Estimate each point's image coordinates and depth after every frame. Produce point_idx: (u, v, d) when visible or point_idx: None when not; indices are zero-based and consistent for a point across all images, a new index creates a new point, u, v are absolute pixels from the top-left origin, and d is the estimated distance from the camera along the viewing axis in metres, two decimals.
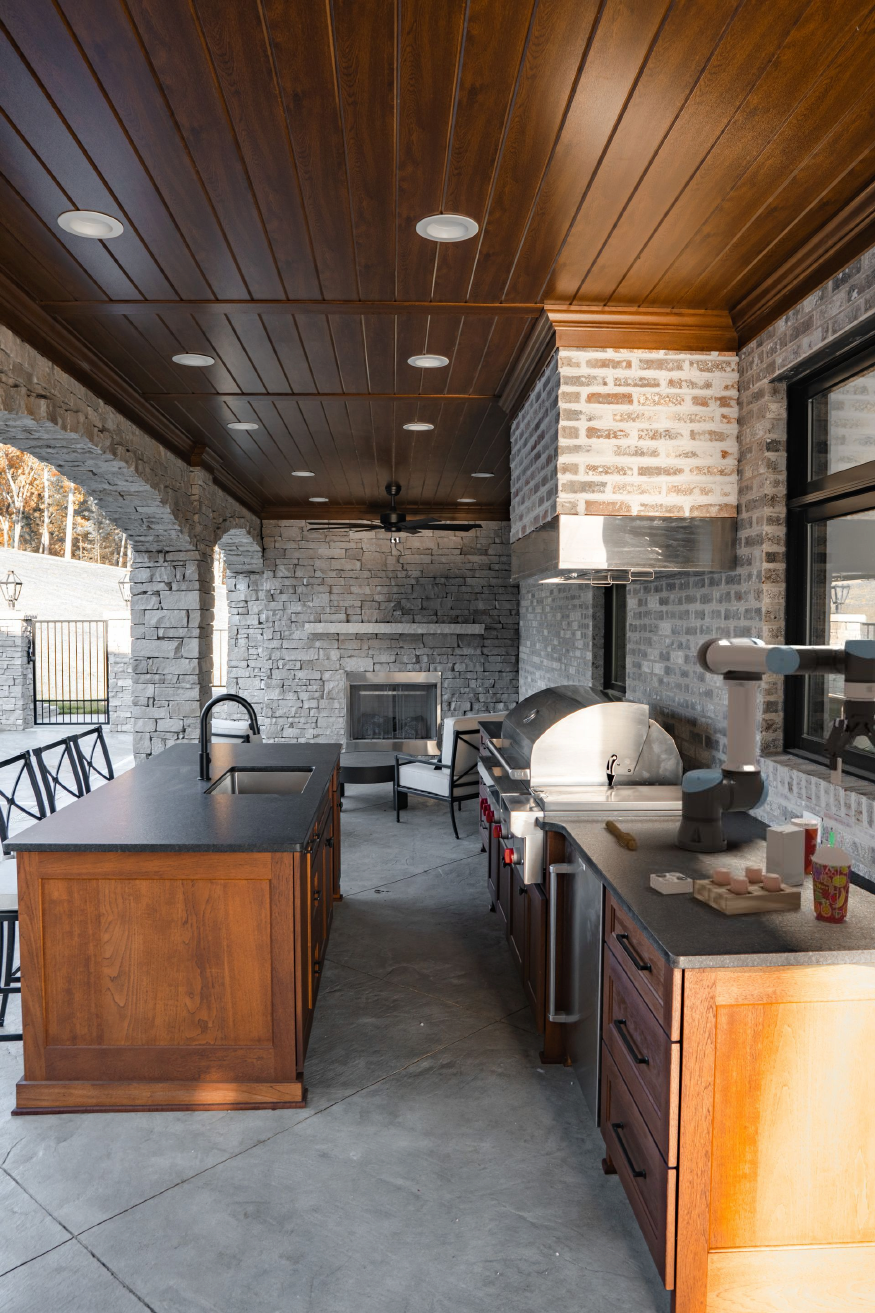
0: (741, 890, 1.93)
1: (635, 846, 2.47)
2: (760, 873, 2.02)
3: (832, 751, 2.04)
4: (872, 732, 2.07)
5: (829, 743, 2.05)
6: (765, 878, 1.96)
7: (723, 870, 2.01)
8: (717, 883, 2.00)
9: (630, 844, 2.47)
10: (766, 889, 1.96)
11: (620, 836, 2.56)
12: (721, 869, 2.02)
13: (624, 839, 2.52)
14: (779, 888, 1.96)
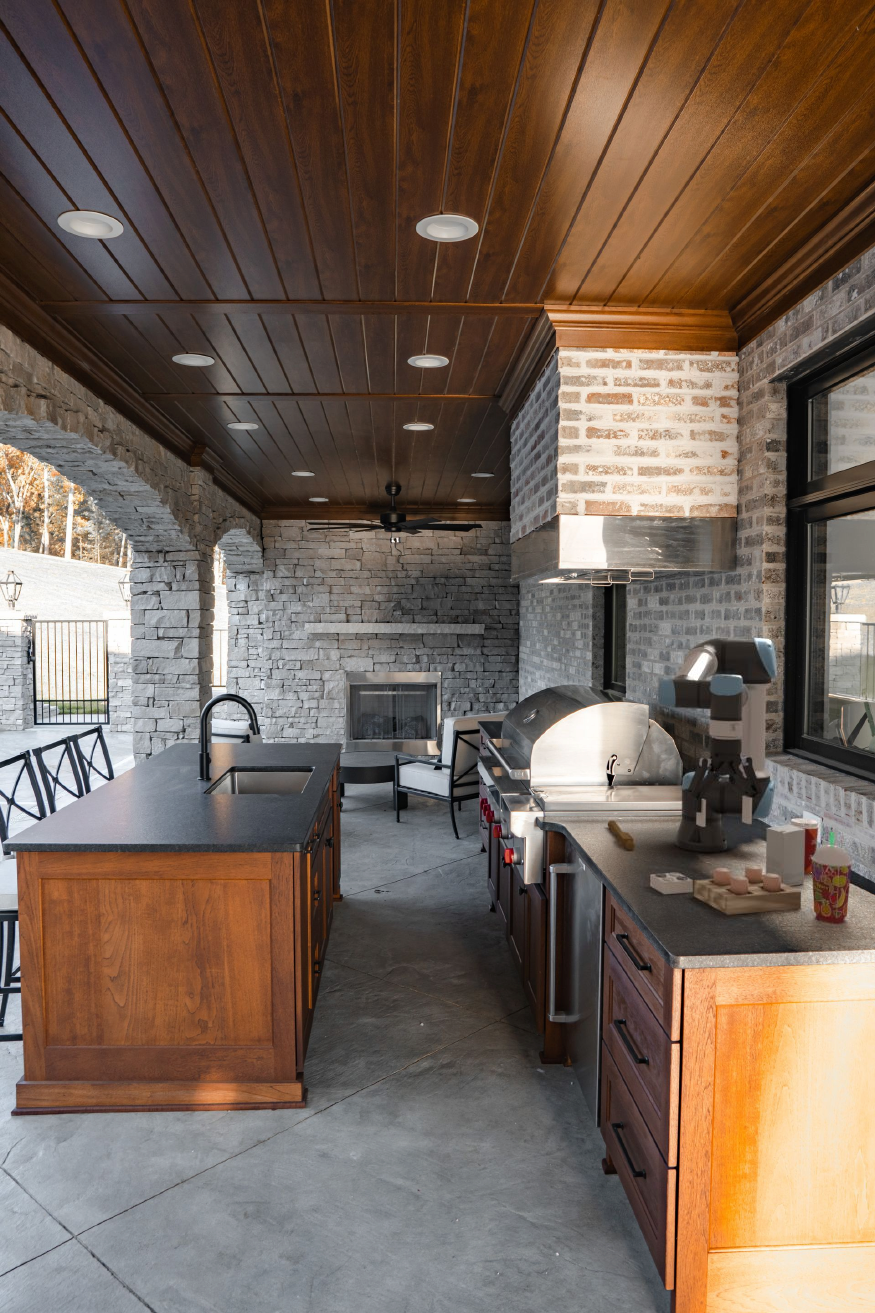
0: (741, 890, 1.93)
1: (632, 846, 2.47)
2: (760, 873, 2.02)
3: (695, 792, 1.98)
4: (737, 771, 2.00)
5: (693, 784, 1.99)
6: (765, 878, 1.96)
7: (723, 870, 2.01)
8: (717, 883, 2.00)
9: (627, 844, 2.47)
10: (766, 889, 1.96)
11: (619, 836, 2.57)
12: (721, 869, 2.02)
13: (622, 839, 2.52)
14: (779, 888, 1.96)
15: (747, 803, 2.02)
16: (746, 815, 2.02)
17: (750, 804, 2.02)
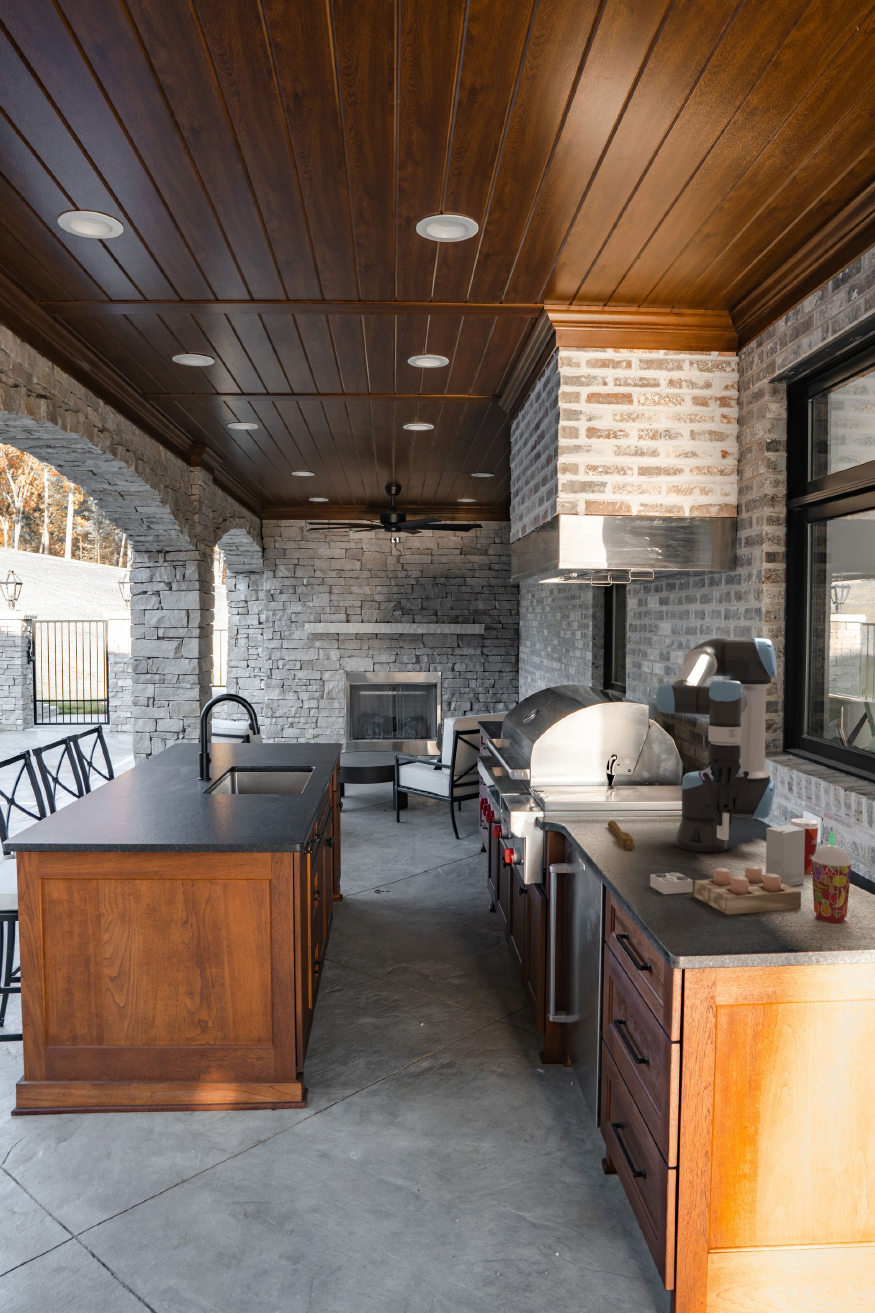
0: (741, 890, 1.93)
1: (632, 846, 2.47)
2: (760, 873, 2.02)
3: (715, 805, 1.99)
4: (731, 779, 2.00)
5: (708, 799, 2.00)
6: (765, 878, 1.96)
7: (723, 870, 2.01)
8: (717, 883, 2.00)
9: (627, 844, 2.47)
10: (766, 889, 1.96)
11: (619, 836, 2.57)
12: (721, 869, 2.02)
13: (622, 839, 2.52)
14: (779, 888, 1.96)
15: None
16: None
17: (727, 819, 2.00)
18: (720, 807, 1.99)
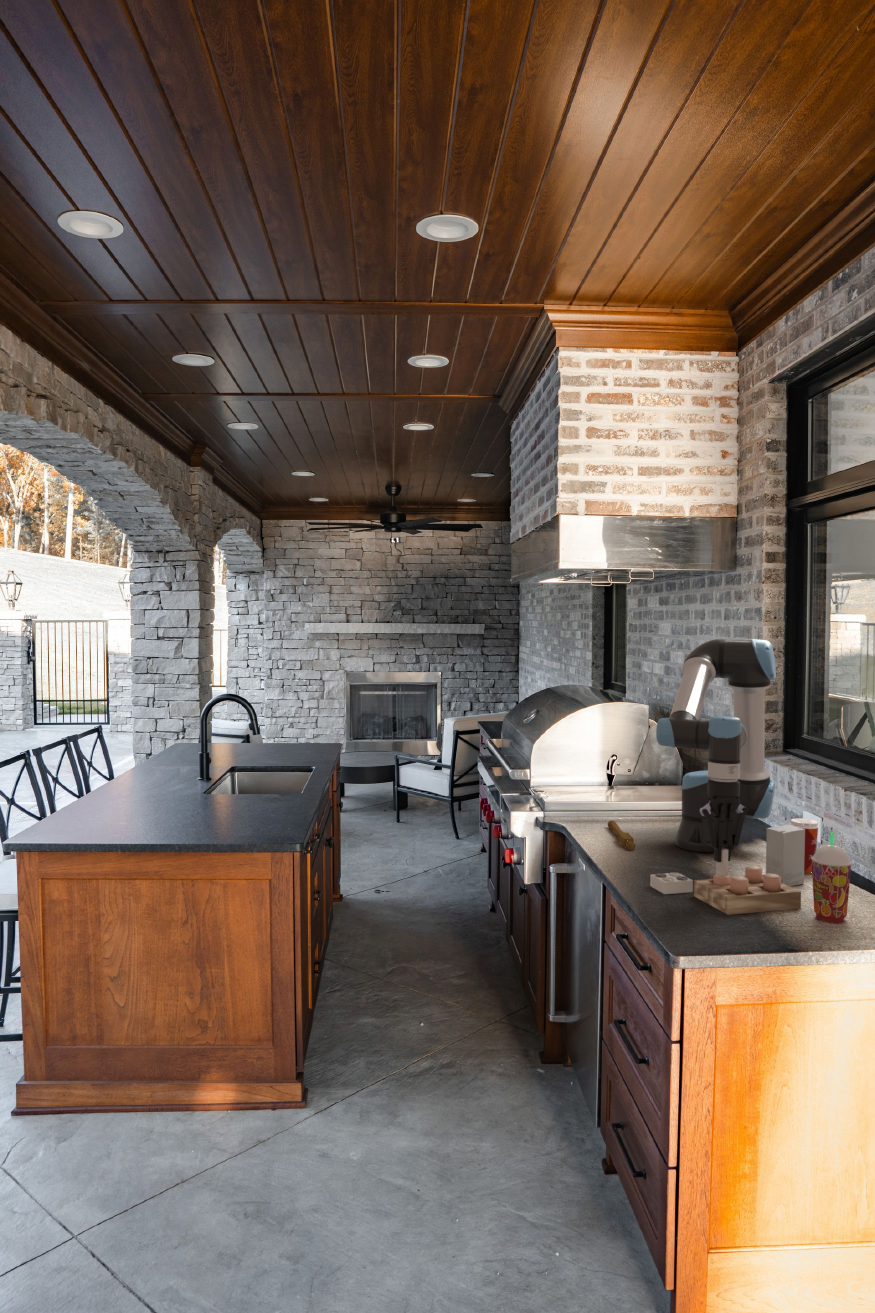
0: (741, 890, 1.93)
1: (632, 846, 2.47)
2: (760, 873, 2.02)
3: (714, 842, 1.99)
4: (730, 815, 2.00)
5: (707, 835, 2.00)
6: (765, 878, 1.96)
7: (723, 876, 2.01)
8: None
9: (627, 844, 2.47)
10: (766, 889, 1.96)
11: (619, 836, 2.57)
12: None
13: (622, 839, 2.52)
14: (779, 888, 1.96)
15: None
16: None
17: (727, 856, 2.00)
18: (719, 843, 2.00)
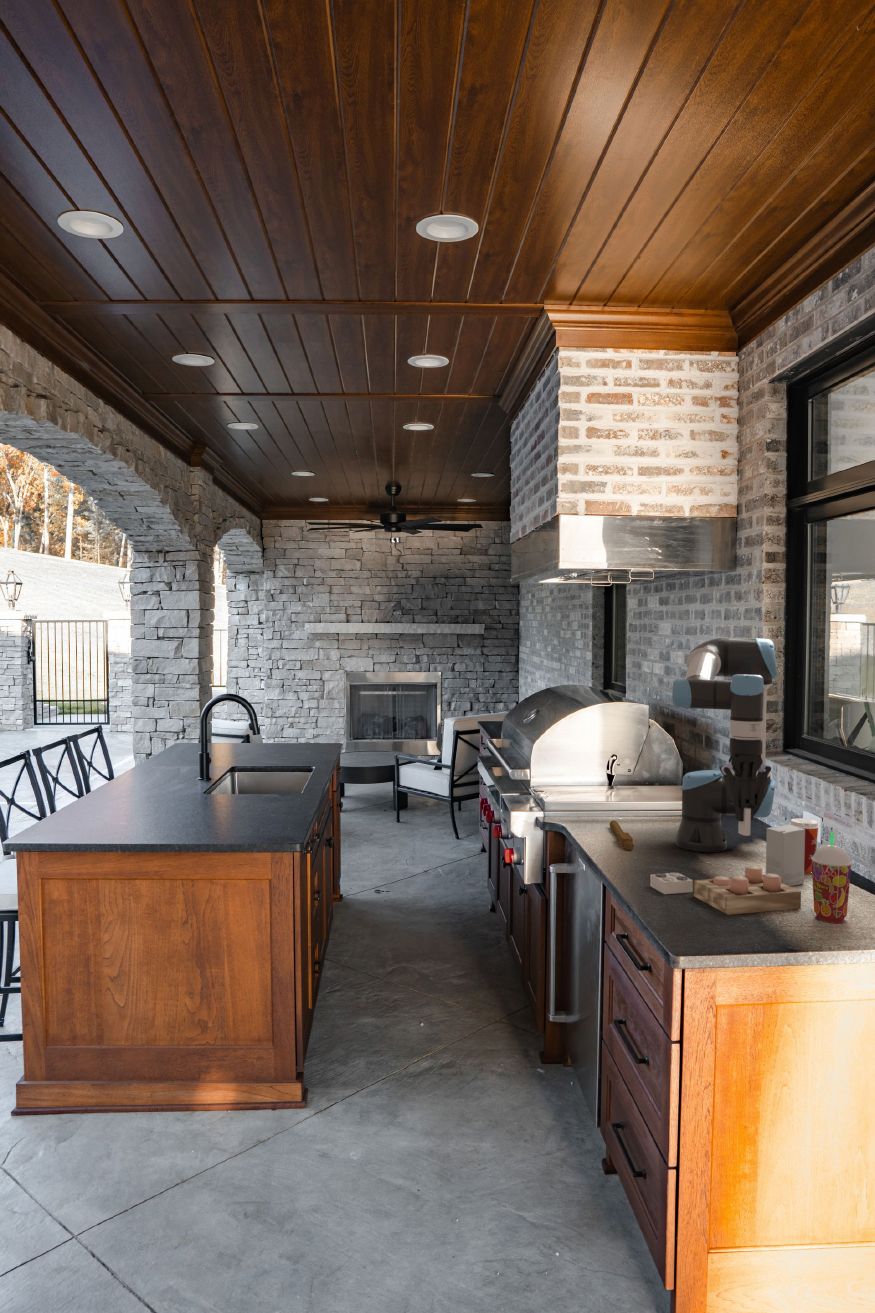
0: (741, 890, 1.93)
1: (631, 846, 2.47)
2: (760, 873, 2.02)
3: (736, 801, 1.97)
4: (753, 774, 1.97)
5: (729, 794, 1.98)
6: (765, 878, 1.96)
7: (723, 878, 2.01)
8: None
9: (626, 844, 2.47)
10: (766, 889, 1.96)
11: (619, 836, 2.57)
12: (721, 877, 2.02)
13: (621, 839, 2.52)
14: (779, 888, 1.96)
15: None
16: None
17: (749, 815, 1.98)
18: (741, 802, 1.97)
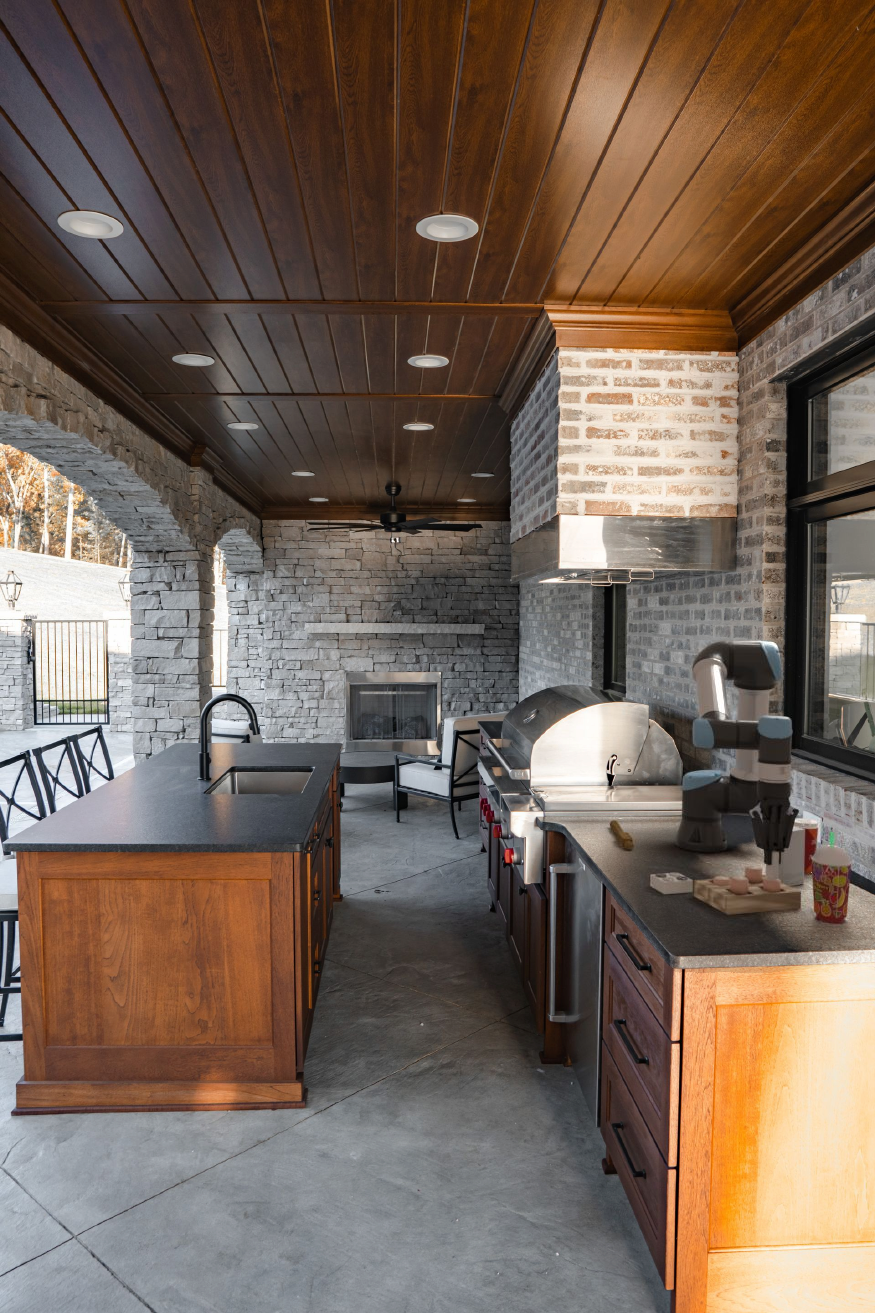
0: (741, 890, 1.93)
1: (631, 846, 2.47)
2: (760, 873, 2.02)
3: (765, 844, 1.95)
4: (781, 817, 1.95)
5: (758, 837, 1.96)
6: (765, 881, 1.96)
7: (723, 878, 2.01)
8: None
9: (626, 844, 2.47)
10: None
11: (619, 836, 2.57)
12: (721, 877, 2.02)
13: (621, 839, 2.52)
14: (779, 891, 1.96)
15: None
16: None
17: (777, 858, 1.96)
18: (770, 846, 1.95)
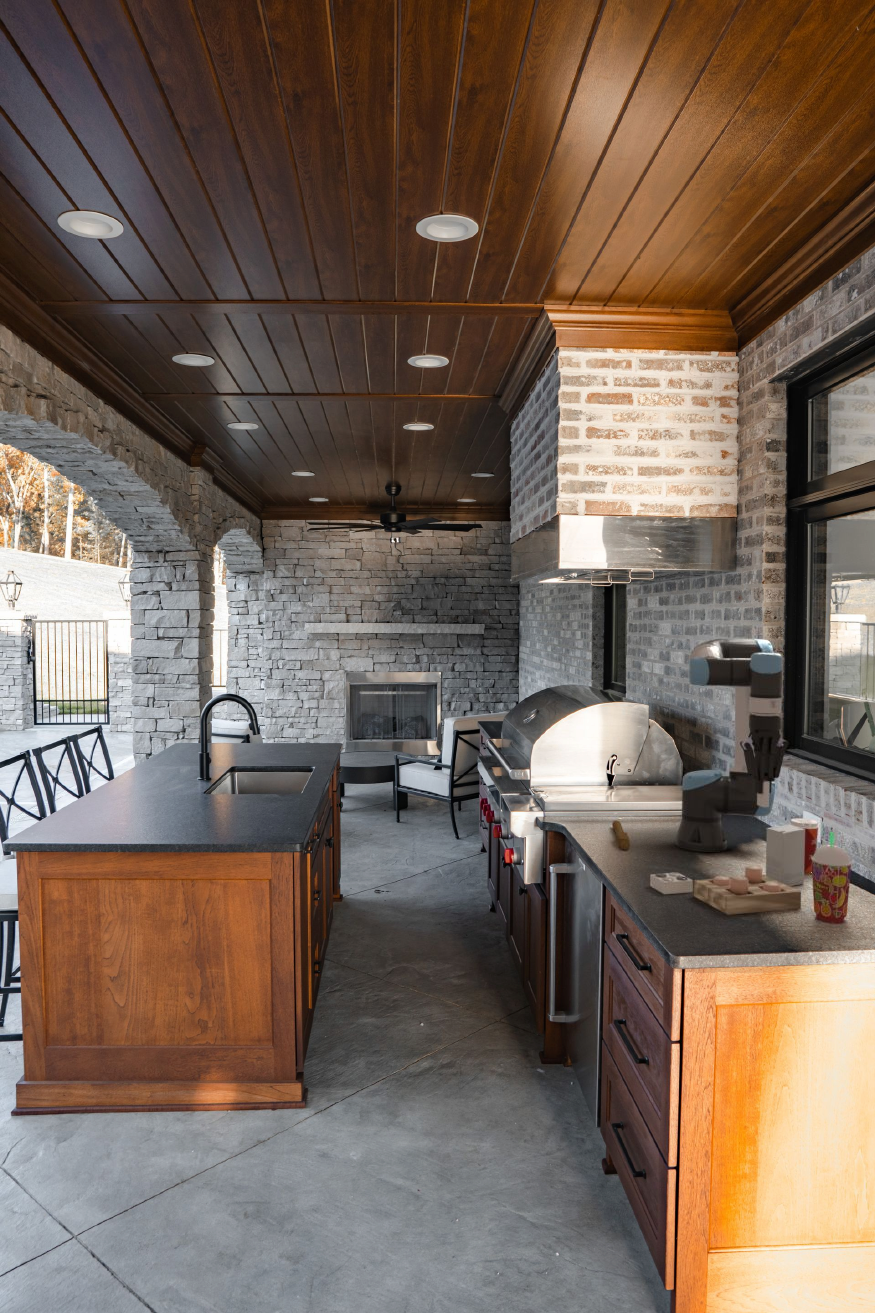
0: (741, 890, 1.93)
1: (626, 846, 2.47)
2: (760, 873, 2.02)
3: (756, 774, 2.05)
4: (771, 748, 2.06)
5: (749, 768, 2.06)
6: (765, 887, 1.96)
7: (723, 878, 2.01)
8: None
9: (621, 844, 2.48)
10: None
11: (617, 836, 2.57)
12: (721, 877, 2.02)
13: (618, 839, 2.52)
14: None
15: None
16: None
17: (768, 787, 2.06)
18: (761, 776, 2.06)
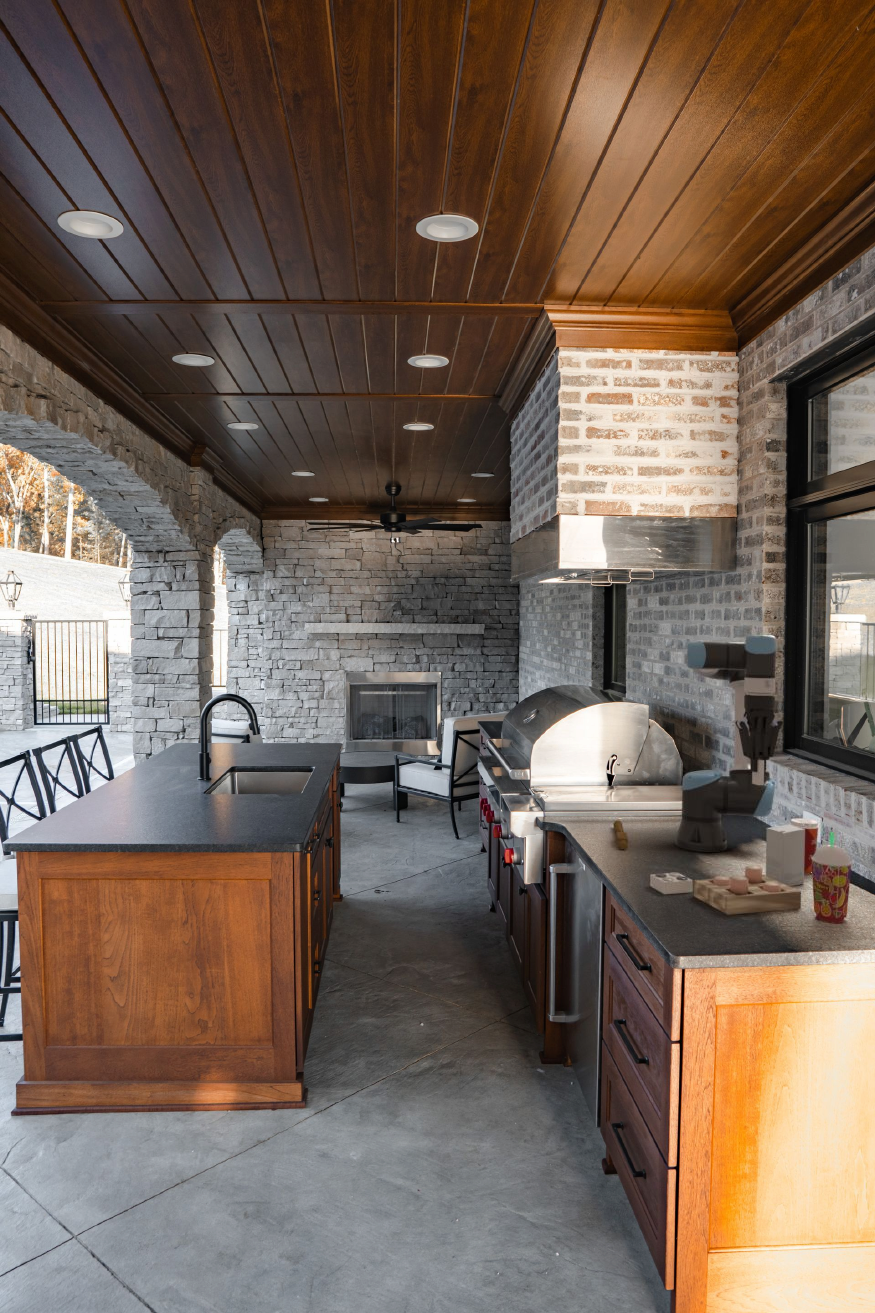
0: (741, 890, 1.93)
1: (625, 845, 2.47)
2: (760, 873, 2.02)
3: (751, 752, 2.11)
4: (766, 727, 2.12)
5: (744, 746, 2.12)
6: (765, 887, 1.96)
7: (723, 878, 2.01)
8: None
9: (620, 843, 2.48)
10: None
11: (616, 835, 2.57)
12: (721, 877, 2.02)
13: (617, 838, 2.52)
14: None
15: None
16: None
17: (763, 766, 2.12)
18: (756, 754, 2.12)
